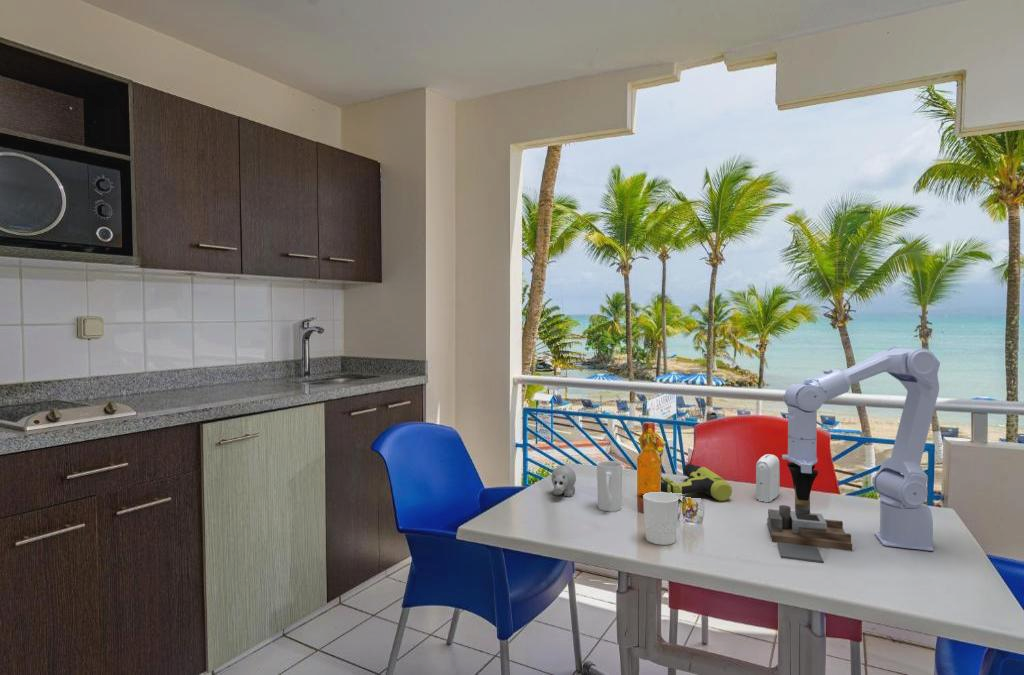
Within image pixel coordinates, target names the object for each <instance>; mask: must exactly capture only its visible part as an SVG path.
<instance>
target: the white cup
mask: <svg viewBox="0 0 1024 675" xmlns="http://www.w3.org/2000/svg"><path fill="white" fill-rule="evenodd" d="M642 502H643V503H642V504H643V520H644V531H645V532H644V533H645V539H646V541H647V542H649V543H650V544H654V545H660V546H667V545H668V546H669V545H672V544H674V543H676V541H677V529H678V516H679V515H678V514H679V501H678V497H677V496H676V495H674V494H671V493H666V492H648V493H645V494H644V495H642Z"/></svg>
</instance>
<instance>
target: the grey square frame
mask: <svg viewBox="0 0 1024 675" xmlns="http://www.w3.org/2000/svg"><path fill="white" fill-rule="evenodd" d="M790 528H791V531H792V533H795V534H800V528H801V529H810V530H820V531H827V523H826V521H825V518H824V516H823V514H822V513H815V512H810V514H808V515H803V514H798V513H796V512H795V510H794V511H793V510H791V520H790Z"/></svg>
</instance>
